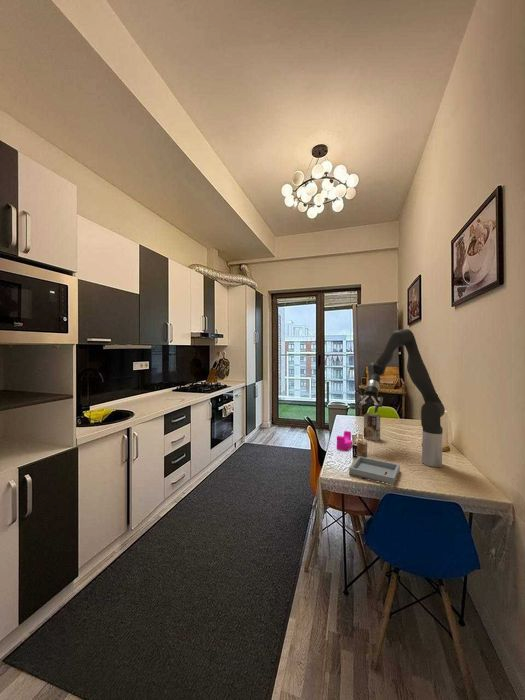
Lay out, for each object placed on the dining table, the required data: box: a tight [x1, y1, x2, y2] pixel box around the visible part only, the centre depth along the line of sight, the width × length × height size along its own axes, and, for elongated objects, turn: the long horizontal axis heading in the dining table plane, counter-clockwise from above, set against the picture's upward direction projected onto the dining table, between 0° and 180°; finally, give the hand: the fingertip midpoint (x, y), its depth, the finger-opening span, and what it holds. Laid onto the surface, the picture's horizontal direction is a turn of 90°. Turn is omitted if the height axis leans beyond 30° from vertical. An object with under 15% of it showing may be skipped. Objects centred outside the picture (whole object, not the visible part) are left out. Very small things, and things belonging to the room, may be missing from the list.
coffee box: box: [363, 413, 381, 442], centre depth 196 cm, size 9×6×16 cm
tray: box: [348, 456, 401, 486], centre depth 143 cm, size 20×18×4 cm
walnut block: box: [356, 440, 368, 459], centre depth 161 cm, size 4×4×9 cm
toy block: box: [336, 430, 353, 452], centre depth 181 cm, size 15×6×8 cm, turn 145°
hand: (367, 410), depth 172 cm, fingers open, 8 cm apart
